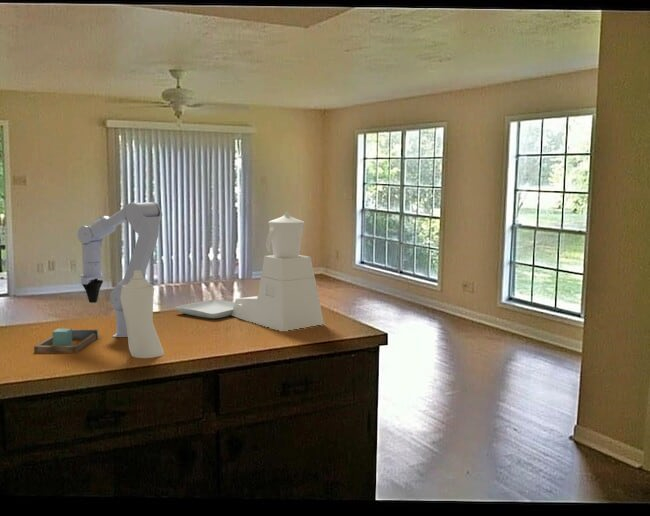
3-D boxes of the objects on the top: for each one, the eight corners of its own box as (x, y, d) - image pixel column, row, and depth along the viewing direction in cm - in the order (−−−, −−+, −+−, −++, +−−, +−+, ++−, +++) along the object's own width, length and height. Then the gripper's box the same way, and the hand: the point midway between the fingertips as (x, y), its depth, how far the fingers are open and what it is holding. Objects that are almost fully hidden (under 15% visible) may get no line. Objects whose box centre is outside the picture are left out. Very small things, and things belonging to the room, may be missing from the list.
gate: (98, 338, 199) (98, 329, 199) (97, 339, 198) (97, 330, 198) (57, 339, 198) (57, 329, 198) (56, 339, 197) (56, 330, 197)
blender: (229, 317, 234) (228, 209, 229) (270, 311, 245) (270, 208, 240) (280, 335, 208) (281, 214, 203) (324, 327, 220) (325, 212, 215)
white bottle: (124, 365, 173) (122, 274, 169) (120, 355, 182) (118, 269, 179) (167, 360, 177) (166, 272, 174) (161, 351, 187) (159, 267, 184)
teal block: (72, 348, 189) (71, 328, 188) (67, 351, 185) (66, 331, 184) (58, 348, 189) (58, 328, 188) (53, 351, 185) (52, 331, 184)
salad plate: (214, 306, 255) (214, 298, 254) (253, 313, 242) (253, 304, 242) (173, 315, 237) (173, 306, 237) (213, 323, 225) (213, 313, 225)
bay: (96, 341, 197) (95, 333, 197) (76, 355, 181) (76, 346, 181) (57, 340, 197) (57, 332, 197) (34, 354, 181) (34, 346, 181)
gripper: (87, 259, 216) (89, 298, 218) (71, 264, 202) (72, 306, 203) (108, 259, 216) (109, 298, 218) (93, 265, 202) (94, 306, 203)
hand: (93, 302), depth 211 cm, fingers closed
